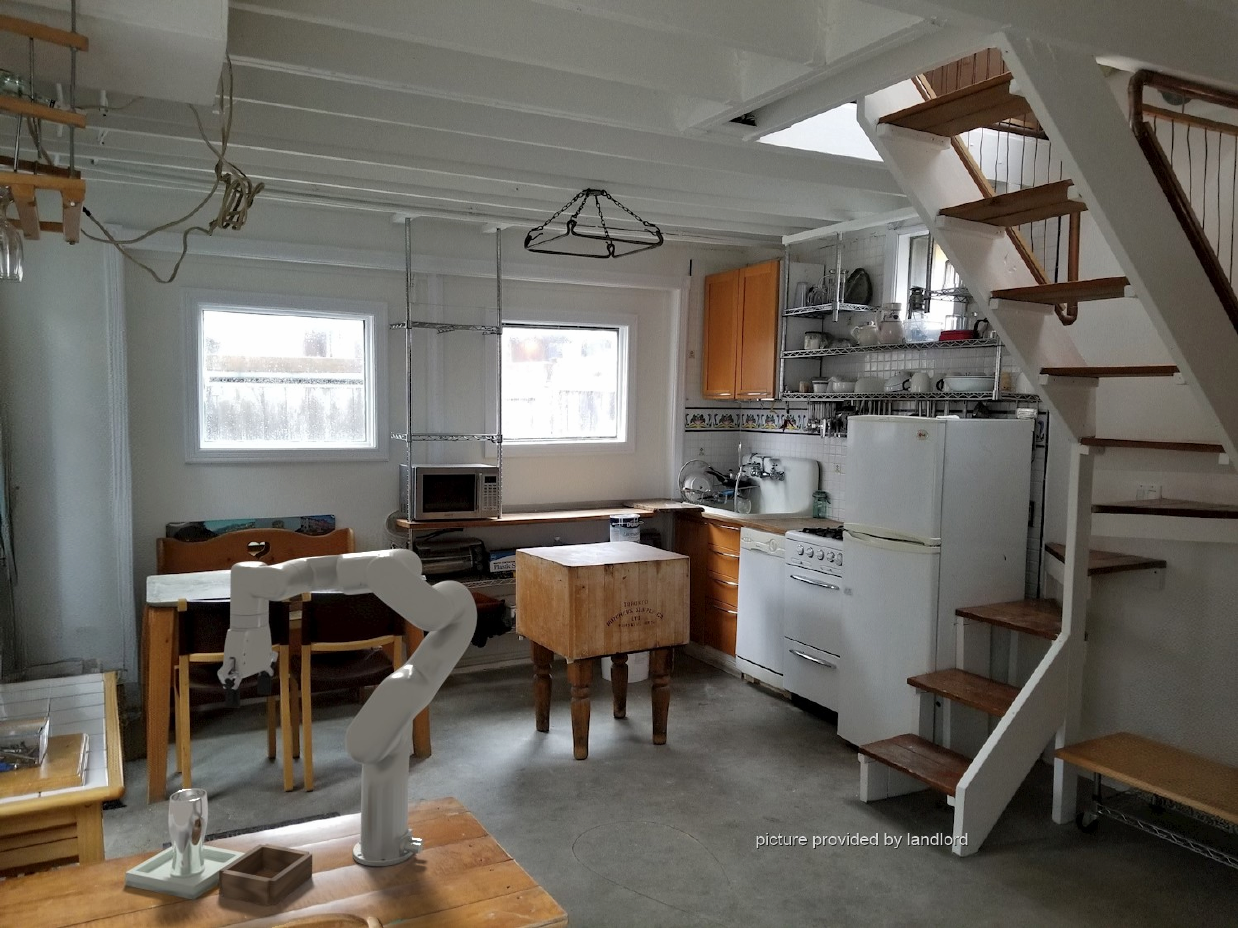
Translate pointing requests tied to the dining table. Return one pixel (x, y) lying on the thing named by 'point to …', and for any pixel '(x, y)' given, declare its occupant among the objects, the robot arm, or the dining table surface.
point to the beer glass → (188, 831)
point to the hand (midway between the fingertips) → (248, 700)
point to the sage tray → (159, 877)
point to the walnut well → (262, 890)
